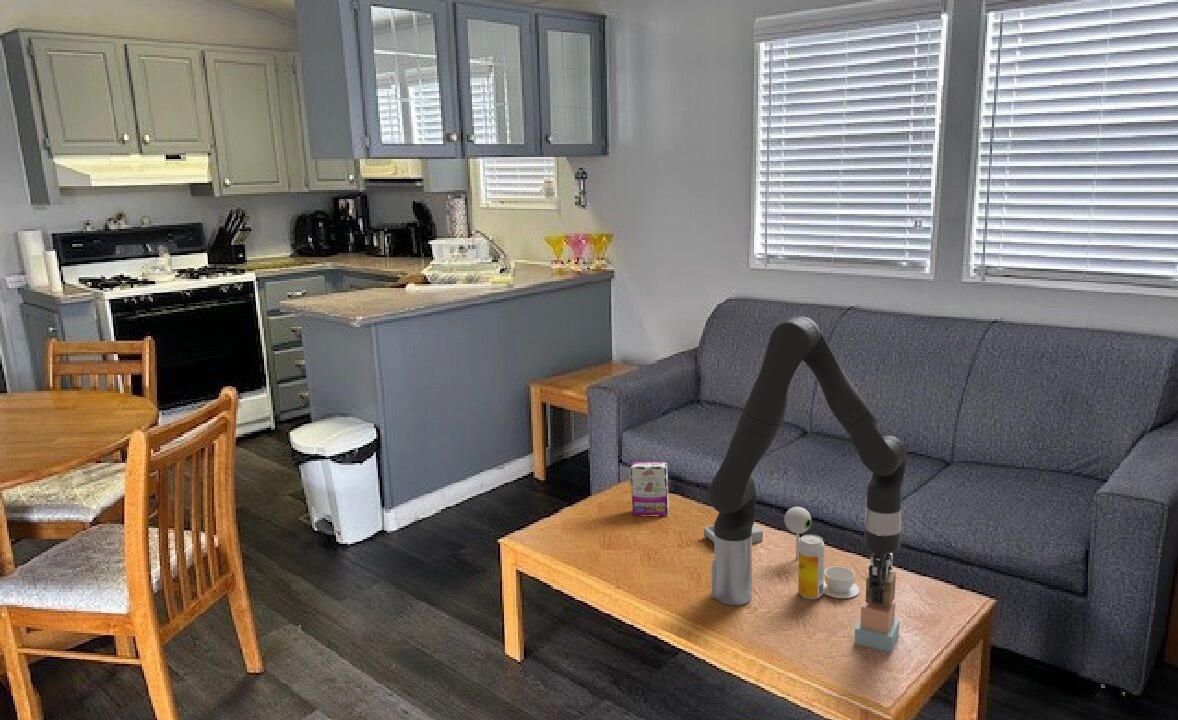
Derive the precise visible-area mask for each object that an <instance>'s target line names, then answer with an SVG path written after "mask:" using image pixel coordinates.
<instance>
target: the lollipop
mask: <svg viewBox="0 0 1178 720" xmlns="http://www.w3.org/2000/svg"><path fill="white" fill-rule="evenodd" d="M783 519H784V525H785V526H786V528H787V529H788V530H789V531H790V532H792V533H794V534H796V536H795V537H796V544H795V545H796V546H795V549H796V550H795V559H796V560H799V541H800V534H803V533H806V532H807V531H809V529H810V528H811V526H812V516H811V513H810V512H809V511H808V510H807V509H806V508H804V507H803V506H794V507H790V508H789V509H788V510H787V511H786V512H785V515H784V518H783Z"/></svg>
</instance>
